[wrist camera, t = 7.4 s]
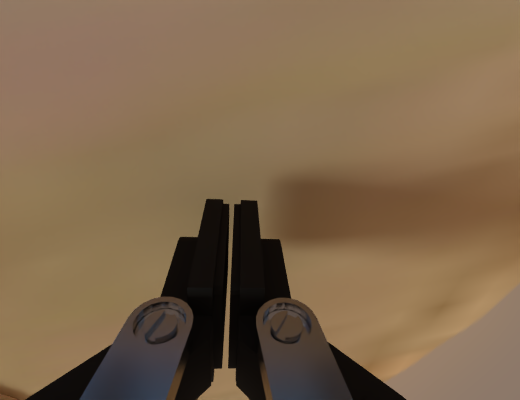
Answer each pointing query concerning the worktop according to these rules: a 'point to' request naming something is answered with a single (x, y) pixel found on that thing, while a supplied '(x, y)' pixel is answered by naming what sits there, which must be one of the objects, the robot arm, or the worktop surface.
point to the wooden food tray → (6, 397)
